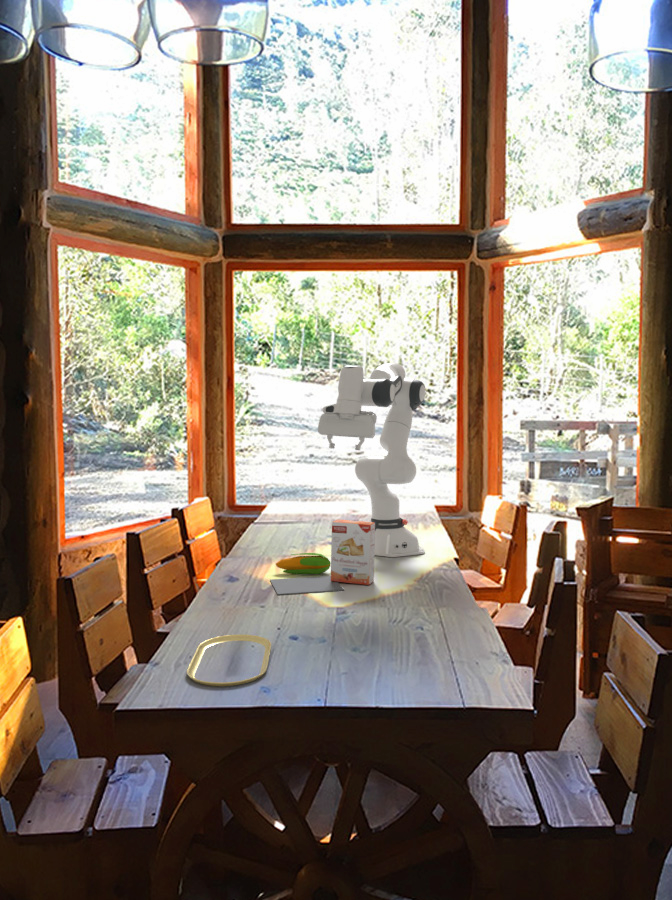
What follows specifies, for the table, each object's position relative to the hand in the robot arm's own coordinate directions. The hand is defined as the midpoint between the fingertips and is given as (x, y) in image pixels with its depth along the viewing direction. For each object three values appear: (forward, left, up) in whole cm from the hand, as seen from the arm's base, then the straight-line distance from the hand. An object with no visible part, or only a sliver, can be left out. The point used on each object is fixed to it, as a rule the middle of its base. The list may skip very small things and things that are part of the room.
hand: (344, 449), depth 279 cm
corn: (+14, -8, -45) cm, 48 cm away
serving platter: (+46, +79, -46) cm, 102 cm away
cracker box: (0, +10, -45) cm, 46 cm away
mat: (+16, +10, -45) cm, 49 cm away
